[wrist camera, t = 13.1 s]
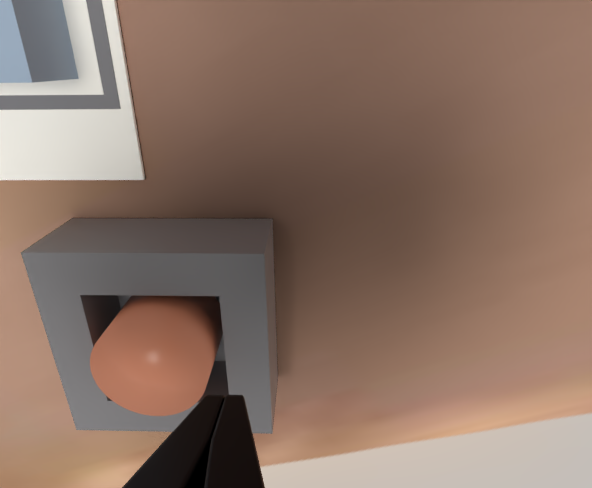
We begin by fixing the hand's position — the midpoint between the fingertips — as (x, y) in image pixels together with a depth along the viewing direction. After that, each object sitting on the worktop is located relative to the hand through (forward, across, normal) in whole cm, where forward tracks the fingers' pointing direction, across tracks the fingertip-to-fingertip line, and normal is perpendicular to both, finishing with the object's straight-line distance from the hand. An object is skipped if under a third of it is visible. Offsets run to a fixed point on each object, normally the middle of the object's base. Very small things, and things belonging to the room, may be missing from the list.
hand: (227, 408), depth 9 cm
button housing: (+12, +5, +5) cm, 14 cm away
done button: (+11, +5, +5) cm, 13 cm away
